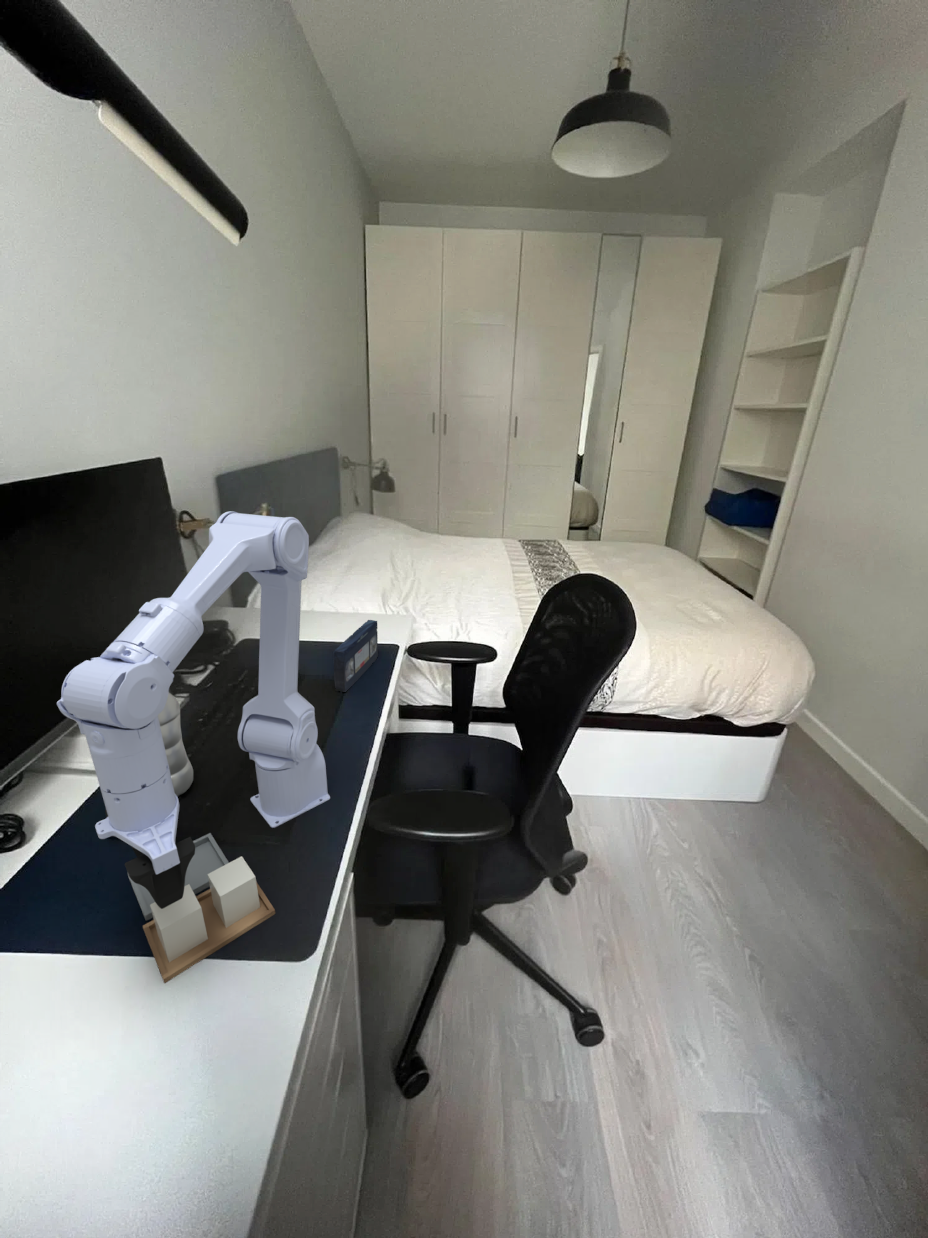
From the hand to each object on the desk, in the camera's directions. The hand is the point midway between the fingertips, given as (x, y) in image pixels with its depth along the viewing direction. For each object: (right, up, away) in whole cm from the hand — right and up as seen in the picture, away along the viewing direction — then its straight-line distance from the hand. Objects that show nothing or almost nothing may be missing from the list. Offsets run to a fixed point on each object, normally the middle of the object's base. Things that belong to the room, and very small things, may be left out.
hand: (160, 877), depth 54 cm
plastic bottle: (-13, 0, +26) cm, 29 cm away
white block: (+1, -9, +3) cm, 9 cm away
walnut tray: (+3, -8, +5) cm, 10 cm away
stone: (+5, -7, +7) cm, 11 cm away
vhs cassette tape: (+8, +15, +63) cm, 66 cm away
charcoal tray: (-4, -6, +11) cm, 13 cm away
